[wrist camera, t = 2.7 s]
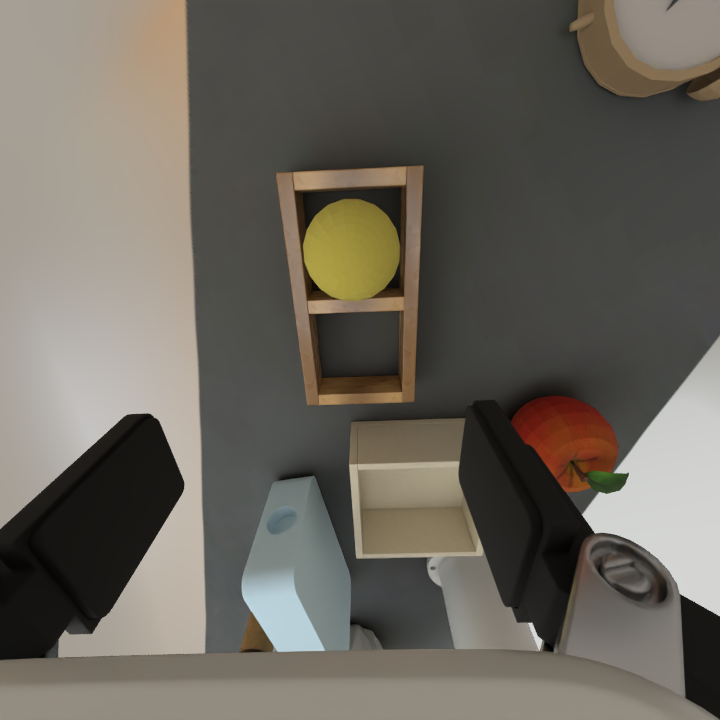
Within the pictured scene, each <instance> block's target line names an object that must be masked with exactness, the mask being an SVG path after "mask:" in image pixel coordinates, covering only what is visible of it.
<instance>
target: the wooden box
mask: <svg viewBox="0 0 720 720" xmlns="http://www.w3.org/2000/svg"><path fill="white" fill-rule="evenodd" d="M464 424H465V418H452V419H420V420H389V421H357V422H351V435H350V456H349V470H350V483H351V496H352V510H353V523H354V536H355V550H356V559H362V558H408V557H453V556H482V554H483V547H482V544H481V542H480V539H479V536H478V533H477V530H476V528H475V525H474V522H473V519H472V516H471V514H470V511H469V508H468V505H467V503H466V500H465V497H464V494H463V491H462V489H461V486H460V483H459V477H458V470H459V463H460V455H461V447H462V439H463V432H464Z"/></svg>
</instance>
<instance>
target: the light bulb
mask: <svg viewBox="0 0 720 720" xmlns="http://www.w3.org/2000/svg"><path fill="white" fill-rule="evenodd" d="M303 250H304V262H305V264H306V267H307V270H308V272H309V275H310V277H311V278H312V279H313V281H314V282H315V283H316V284H317V286H318V287H319V288H320V289H321V290H323V291H324V292H326V293H327V294H328V295H330V296H331V297H334V298H337V299H340V300H343V301H361V300H364V299H367V298H370V297H373V296H374V295H376V294H377V293H379V292H380V291H381V290H383V289H384V288H385V287H386V286H387V285H388V283H389V282H390V281H391V279H392V278H393V277H394V275H395V272H396V269H397V267H398V264H399V258H400V243H399V239H398V235H397V231H396V228H395V227H394V225H393V223H392V222H391V220H390V219H389V217H388V215H387V214H385V213H384V212H383V211H382V210H381V209H379V208H378V207H377V206H376V205H374V204H371V203H369V202H366V201H363V200H361V199H342V200H340V201H337V202H334V203H331V204H329V205H327V206H326V207H325V208H324V209H322V210H321V211H320V212H319V213H318V214H316V215H315V217H314V219H313V220H312V222H311V224H310V225H309V227H308V228H307V231H306V235H305V240H304V244H303Z"/></svg>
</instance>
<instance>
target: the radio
mask: <svg viewBox="0 0 720 720" xmlns="http://www.w3.org/2000/svg"><path fill="white" fill-rule="evenodd" d="M242 595H243V598H244V600H245V602H246V603H247V605H248V607H249V608H250V610H251V611H252V613H253V614H254V616H255V617H256V619H257V621H258V622H259V624H260V625H261V627H262V628H263V630H264V632H265V633H266V635H267V636H268V638H269V639H270V641H271V642H272V644H273V646H274V647H275V649H276V650H277V652H291V651H343V650H349V641H350V606H351V579H350V573H349V570H348V567H347V564H346V562H345V559H344V556H343V553H342V550H341V548H340V545H339V542H338V539H337V536H336V534H335V531H334V528H333V525H332V522H331V520H330V517H329V514H328V511H327V509H326V506H325V503H324V500H323V497H322V495H321V492H320V489H319V486H318V483H317V481H316V478H315V476H308V477H302V478H295V479H288V480H281V481H275V482H273V484H272V486H271V489H270V493H269V496H268V499H267V502H266V505H265V508H264V511H263V514H262V517H261V520H260V523H259V526H258V530H257V533H256V536H255V539H254V542H253V545H252V548H251V551H250V554H249V557H248V560H247V563H246V567H245V570H244V573H243V578H242Z"/></svg>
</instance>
